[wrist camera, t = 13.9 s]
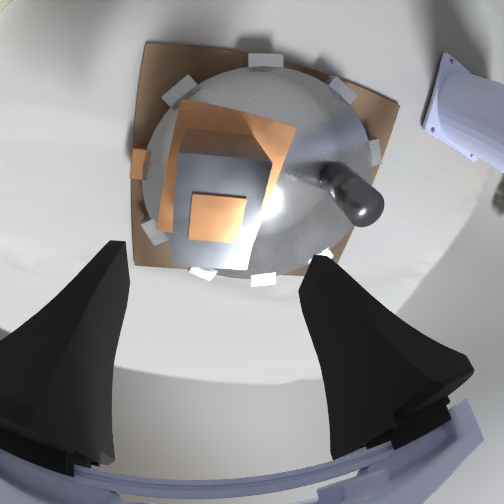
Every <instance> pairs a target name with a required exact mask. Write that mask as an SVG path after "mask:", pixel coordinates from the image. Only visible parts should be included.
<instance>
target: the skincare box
mask: <svg viewBox="0 0 504 504" xmlns="http://www.w3.org/2000/svg"><path fill="white" fill-rule="evenodd" d="M11 1H12V0H0V12H1V11H2V10H3V9H4V8H5V7H6V6H7V5H8V4H9V3H10V2H11Z"/></svg>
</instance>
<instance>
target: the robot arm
mask: <svg viewBox="0 0 504 504" xmlns="http://www.w3.org/2000/svg"><path fill="white" fill-rule="evenodd" d="M450 60H451V62H450ZM431 128H432V130H431ZM423 129H424V131H425V132H427V133H429V134H431V135H432V136H434V137H436V138H437V139H439V140H441V141H443V142H444V143H446V144H447V145H449V146H451V147H452V148H454V149H455V150H457V151H459V152H460V153H462V154H463V155H465V156H466V157H468V158H469V159H470V160H472V161H473V162H476V161H477V160H478V157H479V158H480V159H482V160H484V161H485V162H487V163H488V164H490V165H491V166H493V167H494V168H496V169H497V170H499V171H500V172H502V173H503V174H504V84H502V83H499V82H496V81H493V80H489V79H486V78H483V77H480V76H476V75H472V74H471V73H470V72H469V71H468V70H467V69H466V68H465V67H464V66H463V65H461V64H460V63H459V62H458V61H457V60H456V59H455V58H453V57H452V56H451V55H450V54H449V53H443V54H442V58H441V63H440V67H439V71H438V75H437V79H436V83H435V87H434V90H433V94H432V97H431V101H430V104H429V108H428V111H427V114H426V117H425V120H424V123H423ZM129 287H130V278H129V270H128V261H127V251H126V241H113V240H110V241H109V242H108V243H107V244H106V245H105V246H104V247H103V248H102V249H101V250H100V251H99V252H98V253H97V254H96V255H95V257H94V258H93V259H92V260H91V261H90V262H89V263H88V264H87V265H86V266H85V267H84V268H83V269H82V270H81V271H80V272H79V274H78V275H77V276H76V277H75V278H74V279H73V280H72V281H71V282H70V283H69V284H68V285H67V286H66V287H65V288H64V289H63V290H62V291H61V292H60V293H59V294H58V295H57V296H56V297H55V298H53V299H52V300H51V301H50V302H49V303H48V304H47V305H46V306H45V307H43V308H42V309H41V310H40V311H39V312H38V313H36V314H35V315H34V316H33V317H31V318H30V319H29V320H28V321H26V322H25V323H24V324H23V325H21V326H20V327H19V328H17V329H16V330H15V331H13V332H12V333H11V334H9V335H8V336H6V337H5V338H4V339H2V340H1V341H0V504H160V503H151V502H142V501H133V500H123V499H122V498H121V497H120V496H119V495H118V494H117V493H116V492H118V493H124V494H130V495H138V496H146V497H157V498H173V499H217V498H232V497H243V496H252V495H260V494H266V493H273V492H278V491H283V490H289V489H293V488H298V487H302V486H306V485H311V484H314V483H318V482H322V481H325V480H329V479H332V478H335V477H339V476H341V475H345V474H348V473H350V472H353V471H356V470H359V469H360V470H359V471H358V474H357V476H355V477H353V478H349V479H346V480H343V481H339V482H336V483H333V484H330V485H327V486H324V487H321V488H318V489H317V494H318V497H317V498H313V499H309V500H305V501H300V502H296V503H291V504H423V503H424V502H425V501H426V500H427V499H428V498H429V497H430V496H431V495H432V494H433V493H434V492H436V491H437V489H439V487H440V486H441V485H442V484H443V483H444V482H445V481H446V480H447V479H448V478H449V477H450V476H451V475H452V474H453V473H454V471H455V470H456V469H457V468H458V467H459V466H460V465H461V463H462V462H463V461H464V460H465V459H466V458H467V457H468V456H469V455H470V454H471V453H472V452H473V451H474V450H475V449H476V448H477V447H478V446H479V445H480V444H481V443H482V442H483V441H484V439H483V436H482V433H481V431H480V428H479V426H478V423H477V421H476V418H475V416H474V414H473V411H472V409H471V407H470V405H469V402H468V400H467V399H465V400H463V401H462V402H460V403H458V404H457V405H455V406H453V407H452V408H450V409H449V410H448V409H447V407H446V405H447V404H449V403H450V400H449V398H448V395H449V394H450V393H452V392H453V391H455V390H456V389H457V388H458V387H460V386H461V385H462V384H463V383H464V382H465V381H467V380H468V379H469V378H470V377H471V376H472V375H473V373H474V368H473V367H472V365H471V363H470V361H469V359H468V358H467V357H466V355H464V354H462V353H459V352H457V351H455V350H453V349H450V348H448V347H446V346H444V345H442V344H440V343H438V342H436V341H434V340H433V339H431V338H429V337H427V336H426V335H424V334H422V333H421V332H419V331H418V330H416V329H415V328H413V327H411V326H410V325H408V324H407V323H405V322H404V321H403V320H401V319H400V318H399V317H397V316H396V315H395V314H393V313H392V312H391V311H389V310H388V309H387V308H386V307H385V306H383V305H382V304H381V303H380V302H379V301H378V300H376V299H375V298H374V297H373V296H372V295H371V294H369V293H368V292H367V291H366V290H365V289H364V288H363V287H362V286H361V285H360V284H358V283H357V282H356V281H355V280H354V279H353V278H352V277H351V276H350V275H349V274H348V273H347V272H346V271H344V270H343V269H342V268H341V267H340V266H339V265H338V264H337V263H335V262H334V261H333V260H332V259H331V258H329V257H328V256H326V255H313V257H312V260H311V262H310V265H309V267H308V269H307V272H306V274H305V277H304V279H303V281H302V284H301V286H300V288H299V290H298V292H299V298H300V303H301V308H302V312H303V316H304V319H305V321H306V324H307V327H308V330H309V333H310V336H311V339H312V342H313V345H314V348H315V350H316V353H317V356H318V360H319V363H320V367H321V371H322V376H323V381H324V386H325V392H326V398H327V405H328V414H329V423H330V451H331V456H332V459H333V460H334V461H331V462H327V463H324V464H319V465H315V466H311V467H307V468H303V469H298V470H293V471H288V472H282V473H277V474H270V475H263V476H257V477H247V478H236V479H222V480H168V479H154V478H143V477H136V476H128V475H122V474H115V473H110V472H104V471H99V470H95V469H91V465H94V466H99V467H100V464H104V465H109V464H111V463H112V462H114V460H115V455H114V446H113V434H112V380H113V379H112V378H113V367H114V360H115V354H116V349H117V345H118V340H119V336H120V332H121V327H122V323H123V319H124V315H125V311H126V307H127V301H128V294H129ZM364 450H365V451H364ZM361 451H362V452H361ZM358 452H359V453H358ZM355 453H356V454H355ZM352 454H353V455H352ZM349 455H350V456H349ZM346 456H347V457H346ZM343 457H344V458H343ZM340 458H341V459H340ZM336 459H338V460H336Z"/></svg>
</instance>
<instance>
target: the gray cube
mask: <svg viewBox="0 0 504 504" xmlns="http://www.w3.org/2000/svg"><path fill="white" fill-rule="evenodd" d="M272 164H273V163H272V161H271V160H270V158H269V157H268V155H267V154H266V153H265V151H264V150H263V148H262V147H261V145H260V144H259V143H258V141H257V140H256V138H255V137H254V136H249V135H242V134H235V133H227V132H219V131H210V130H200V129H189V128H186V131H185V134H184V137H183V139H182V142H181V145H180V148H179V151H178V158H177V169H176V180H175V193H174V209H173V228H172V262H171V266H185V267H201V268H219V269H237V270H247V266H248V262H249V258H250V254H251V250H252V246H253V242H254V238H255V234H256V229H257V225H258V221H259V217H260V213H261V209H262V205H263V201H264V197H265V193H266V189H267V185H268V181H269V177H270V173H271V169H272Z"/></svg>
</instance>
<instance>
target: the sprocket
mask: <svg viewBox="0 0 504 504" xmlns="http://www.w3.org/2000/svg"><path fill="white" fill-rule="evenodd" d="M161 98H162V99H163V100H164V101H165V102H166V103H167V104H168V105H169V106H170V107H171V108H170V109H169V110H168V111H167V113H166V114H165V115H164V117H163V118H162V120H161V121H160V123H159V124H158V126H157V127H156V129H155V131H154V133H153V135H152V137H151V140H150V142H149V144H148V146H147V145H140V144H137V145H136V146H135V147H134V148H133V153H132V161H131V168H130V177H129V178H133V179H140V180H142V187H143V195H144V201H145V205H146V208H147V211H148V214H149V215H147V216H145V217H143V219H142V222H141V226H142V228H143V229H144V231H145V232H146V234H147V235H148V237H149V238H150V240H151V241H152V243H153V244H154V246H155V245H158V244H160V243H163V242H165V243H166V244H167V245H168V246H169V247H170V248H171V249H172V228H173V209H174V193H175V180H176V169H177V158H178V151H179V148H180V145H181V142H182V139H183V137H184V134H185V131H186V128H189V129H200V130H210V131H219V132H227V133H235V134H242V135H249V136H254V137H255V138H256V140H257V141H258V143H259V144H260V145H261V147H262V148H263V150H264V151H265V153H266V154H267V155H268V157H269V158H270V160H271V161H272V163H273V164H272V169H271V173H270V177H269V181H268V185H267V189H266V193H265V197H264V201H263V205H262V209H261V213H260V217H259V221H258V225H257V229H256V234H255V238H254V242H253V246H252V250H251V254H250V258H249V262H248V266H247V270H237V269H219V268H201V267H188V273H191V274H193V275H196V276H198V277H201V278H204V279H206V280H209V281H211V280H212V278H213V277H214V276H215V274H217V275H221V276H226V277H232V278H241V279H250V281H251V286H258V285H266V284H274V283H275V276H277V275H281V274H285V273H288V272H292V271H294V270H296V269H299V268H301V267H304V266H306V265H308V264H310V262H311V260H312V257H313V255H326V256H328V257H329V258H332V257H334V256H333V255H332V253H331V251H330V250H331V249H332V248H333V247H334V246H335V245H336V244H337V243H338V242H339V241H340V240H341V239H342V238H343V237H344V236H345V235H346V234H347V232H348V231H349V230H350V229H351V227H352V226H353V225H355V226H357V227H366V226H369V225H371V224H373V223H374V222H375V221H377V219H378V218H379V217H380V216H381V214H382V212H383V209H384V199H383V197H382V195H381V194H380V193H379V192H378V191H377V190H376V189H375V188H373V187H372V186H371V185H370V183H371V175H372V166H375V165H379V164H382V162H381V153H380V144H379V139H378V138H377V137H375V136H373V135H369V136H367V134H366V131H365V129H364V127H363V125H362V123H361V121H360V119H359V117H358V115H357V114H356V113H355V111H354V110H353V108H352V107H351V106H350V105H351V104H352V102H353V101H354V100H355V99H356V98H357V95H356V94H355V93H354V92H353V91H352V90H351V89H350V88H349V87H348V86H347V85H346V84H345V83H344V82H342V81H341V80H340V79H339V78H338V77H337V76H332V75H329V77H328V78H327V79H326V80H325V81H324V82H322V81H320V80H318V79H317V78H315V77H313V76H310V75H308V74H305V73H302V72H299V71H297V70H292V69H287V68H283V54H268V53H248V54H246V67H245V68H239V69H235V70H231V71H227V72H223V73H221V74H218V75H216V76H214V77H211V78H209V79H207V80H205V81H203V82H202V83H200V84H198V83H197V82H196V81H195V80H194V79H193V78H192V77H191V76H190V75H189V74H188V75H187V76H186V77H184V78H183V79H182V80H181V81H179V82H178V83H177V84H176V85H175V86H174V87H172V88H171V89H170V90H169V91H168V92H167V93H165V94H164V95H163V96H162V97H161Z"/></svg>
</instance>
